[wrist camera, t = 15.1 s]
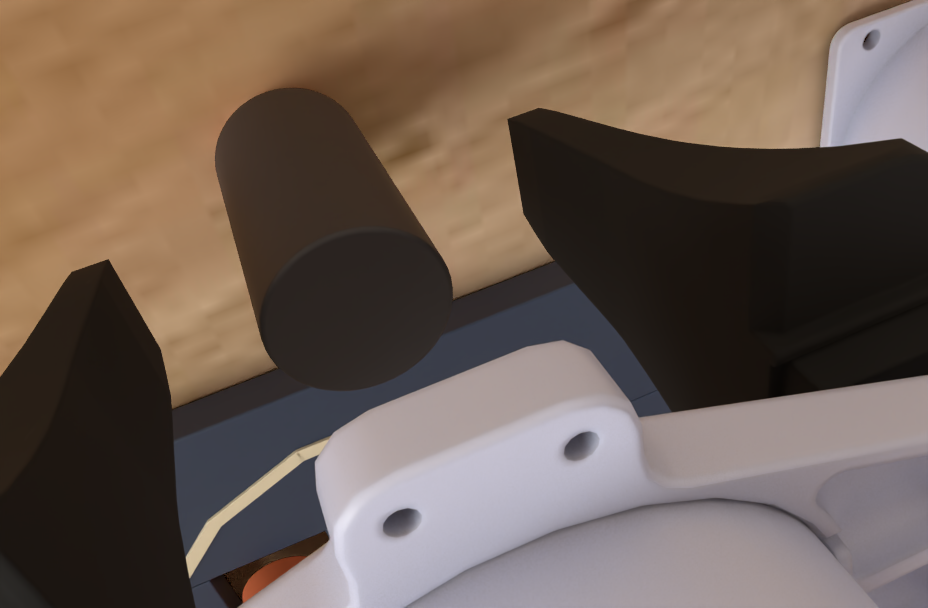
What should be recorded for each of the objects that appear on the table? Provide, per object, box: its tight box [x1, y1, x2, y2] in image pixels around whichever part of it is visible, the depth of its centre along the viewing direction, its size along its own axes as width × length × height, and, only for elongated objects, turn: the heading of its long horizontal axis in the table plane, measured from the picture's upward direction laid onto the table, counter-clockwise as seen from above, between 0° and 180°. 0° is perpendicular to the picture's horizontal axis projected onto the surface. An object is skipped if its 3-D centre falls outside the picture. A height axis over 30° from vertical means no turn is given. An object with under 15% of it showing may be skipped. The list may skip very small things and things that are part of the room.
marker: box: [215, 88, 453, 391], centre depth 15 cm, size 3×3×7 cm
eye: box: [242, 556, 308, 603], centre depth 24 cm, size 3×3×1 cm
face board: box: [172, 261, 672, 608], centre depth 26 cm, size 20×18×1 cm
